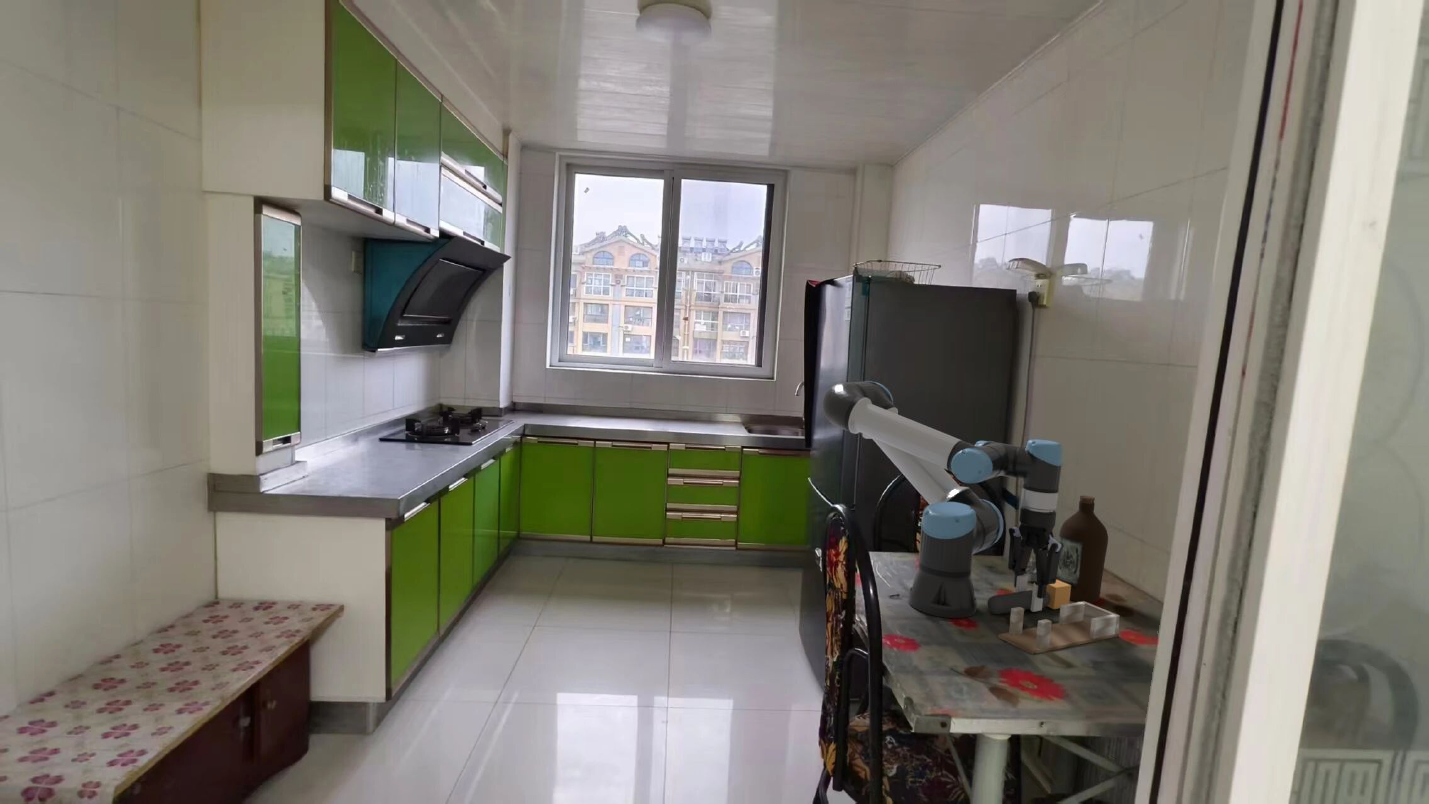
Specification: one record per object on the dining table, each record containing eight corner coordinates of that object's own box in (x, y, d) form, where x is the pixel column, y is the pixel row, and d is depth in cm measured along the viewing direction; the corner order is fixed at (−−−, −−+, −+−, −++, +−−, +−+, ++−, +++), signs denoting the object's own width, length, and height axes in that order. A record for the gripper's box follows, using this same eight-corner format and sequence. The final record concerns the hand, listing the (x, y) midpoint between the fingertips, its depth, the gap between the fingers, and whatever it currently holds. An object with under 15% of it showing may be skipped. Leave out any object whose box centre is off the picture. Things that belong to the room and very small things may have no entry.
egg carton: (1029, 571, 198) (1030, 556, 197) (1059, 577, 193) (1060, 562, 193) (1019, 580, 189) (1020, 565, 189) (1049, 587, 185) (1051, 571, 184)
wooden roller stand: (1031, 654, 143) (1034, 625, 143) (997, 637, 151) (1000, 609, 151) (1118, 636, 155) (1121, 609, 154) (1083, 620, 162) (1085, 595, 162)
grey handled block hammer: (998, 618, 160) (1000, 596, 159) (981, 610, 164) (983, 588, 164) (1068, 606, 170) (1071, 585, 169) (1050, 598, 174) (1053, 578, 174)
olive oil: (1078, 587, 185) (1087, 491, 182) (1112, 602, 175) (1122, 501, 172) (1044, 589, 182) (1053, 492, 179) (1077, 605, 172) (1087, 502, 169)
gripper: (1082, 516, 159) (1070, 618, 161) (1020, 498, 174) (1010, 591, 177) (1058, 519, 156) (1047, 623, 158) (997, 499, 171) (987, 595, 173)
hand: (1027, 606), depth 167 cm, fingers closed on grey handled block hammer, 4 cm apart
